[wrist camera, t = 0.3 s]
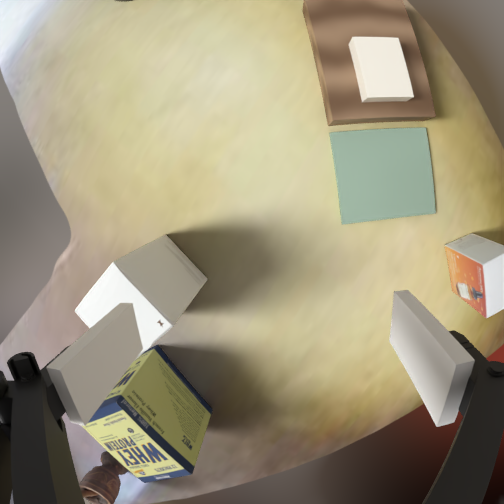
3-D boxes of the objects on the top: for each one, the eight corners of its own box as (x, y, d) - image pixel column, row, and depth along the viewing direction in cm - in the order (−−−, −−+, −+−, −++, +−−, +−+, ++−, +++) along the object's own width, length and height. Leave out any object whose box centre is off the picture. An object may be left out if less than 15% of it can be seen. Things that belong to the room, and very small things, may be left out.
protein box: (156, 342, 47) (114, 401, 32) (214, 409, 49) (194, 476, 34) (116, 364, 49) (73, 418, 34) (171, 425, 52) (145, 485, 36)
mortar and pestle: (96, 463, 59) (64, 516, 39) (84, 442, 57) (47, 497, 37) (135, 474, 58) (106, 534, 38) (125, 453, 56) (91, 516, 36)
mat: (329, 133, 38) (329, 132, 37) (424, 127, 36) (425, 127, 36) (341, 224, 40) (342, 224, 40) (434, 212, 39) (435, 213, 38)
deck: (302, 10, 34) (304, -3, 30) (393, 11, 32) (402, -1, 28) (328, 125, 38) (333, 120, 34) (423, 121, 36) (435, 116, 32)
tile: (348, 44, 31) (352, 36, 29) (392, 44, 30) (398, 37, 28) (362, 102, 33) (367, 97, 30) (406, 101, 32) (413, 97, 30)
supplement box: (165, 231, 43) (113, 258, 28) (209, 278, 44) (176, 326, 29) (127, 272, 45) (71, 310, 30) (168, 315, 46) (126, 369, 31)
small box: (443, 244, 40) (481, 263, 29) (471, 232, 39) (512, 247, 28) (451, 292, 41) (486, 320, 31) (478, 279, 40) (515, 303, 30)
